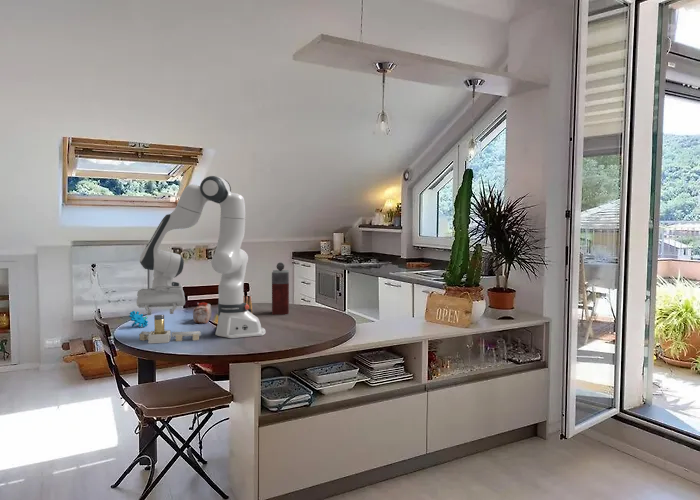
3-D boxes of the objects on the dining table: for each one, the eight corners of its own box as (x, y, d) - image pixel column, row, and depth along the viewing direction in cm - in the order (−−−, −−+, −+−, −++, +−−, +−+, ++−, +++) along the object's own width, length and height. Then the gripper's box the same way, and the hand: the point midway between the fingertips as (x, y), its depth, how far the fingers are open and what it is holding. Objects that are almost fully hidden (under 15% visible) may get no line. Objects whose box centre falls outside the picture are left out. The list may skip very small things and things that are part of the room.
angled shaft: (152, 338, 232) (152, 331, 232) (147, 340, 229) (147, 332, 228) (145, 338, 233) (145, 330, 233) (139, 340, 230) (139, 332, 230)
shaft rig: (201, 336, 236) (201, 329, 236) (200, 341, 228) (200, 333, 228) (151, 339, 232) (151, 331, 232) (148, 343, 224) (148, 335, 224)
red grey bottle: (289, 310, 300) (289, 261, 298) (288, 314, 289) (288, 263, 287) (273, 310, 299) (272, 261, 297) (272, 314, 288) (271, 263, 286)
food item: (208, 324, 264) (208, 304, 263) (192, 324, 263) (192, 304, 262) (212, 318, 277) (212, 299, 277) (196, 318, 276) (196, 300, 276)
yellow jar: (165, 337, 231) (164, 314, 230) (164, 339, 227) (163, 316, 226) (155, 337, 230) (155, 314, 230) (154, 339, 226) (153, 316, 226)
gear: (138, 326, 250) (127, 310, 253) (130, 334, 251) (119, 318, 254) (153, 324, 261) (143, 309, 263) (146, 332, 262) (135, 317, 264)
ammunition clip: (252, 318, 279) (252, 295, 278) (251, 318, 277) (251, 296, 276) (232, 317, 279) (232, 295, 278) (231, 318, 277) (231, 295, 276)
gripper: (136, 284, 235) (133, 310, 226) (185, 283, 240) (183, 308, 231) (139, 293, 240) (135, 318, 231) (186, 291, 244) (184, 316, 235)
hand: (160, 313), depth 231 cm, fingers open, 8 cm apart
